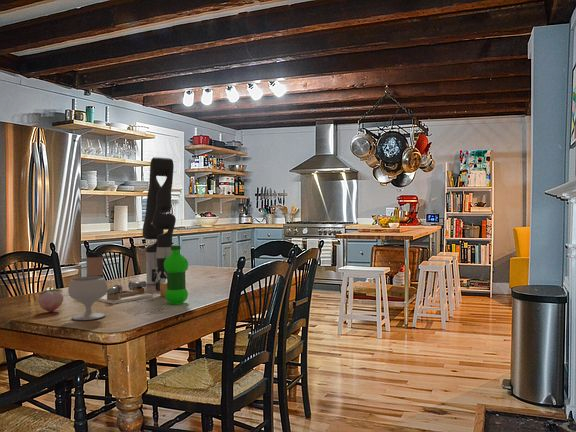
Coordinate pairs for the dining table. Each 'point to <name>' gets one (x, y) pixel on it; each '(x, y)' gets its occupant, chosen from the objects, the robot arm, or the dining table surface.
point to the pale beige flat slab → (126, 297)
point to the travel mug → (94, 263)
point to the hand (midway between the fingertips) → (165, 291)
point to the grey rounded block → (114, 293)
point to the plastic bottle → (176, 276)
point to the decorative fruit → (50, 299)
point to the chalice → (87, 294)
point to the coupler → (163, 289)
